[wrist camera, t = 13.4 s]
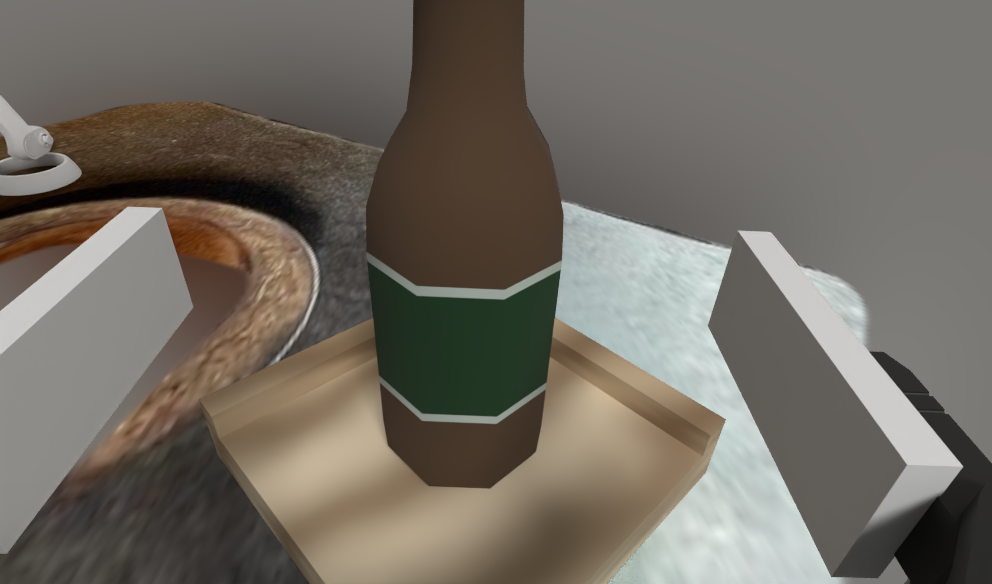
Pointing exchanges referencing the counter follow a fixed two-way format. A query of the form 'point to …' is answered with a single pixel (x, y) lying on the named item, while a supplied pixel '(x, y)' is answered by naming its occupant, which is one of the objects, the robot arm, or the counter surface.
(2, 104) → the white ring with handle
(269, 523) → the wooden tray
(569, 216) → the counter surface
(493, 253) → the beer bottle
